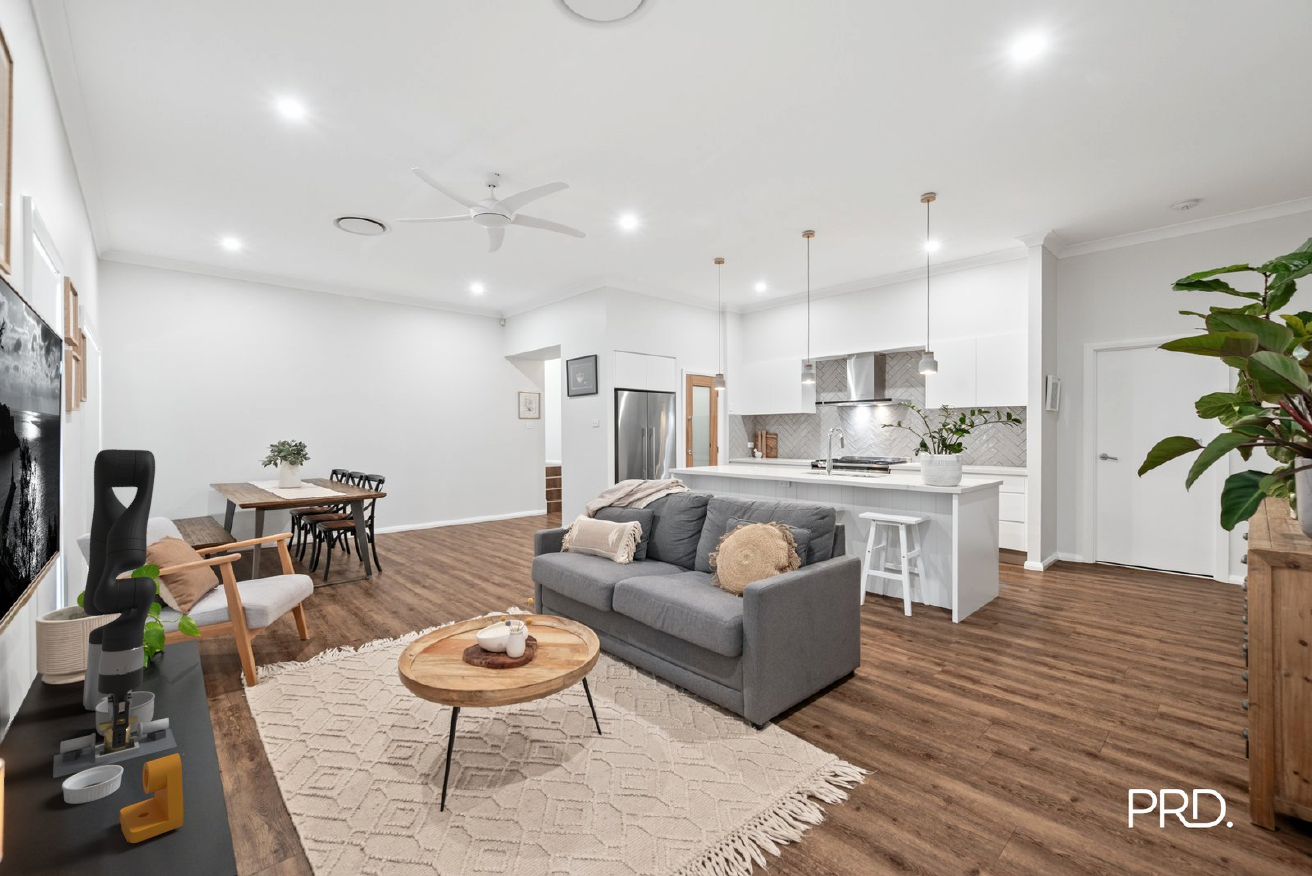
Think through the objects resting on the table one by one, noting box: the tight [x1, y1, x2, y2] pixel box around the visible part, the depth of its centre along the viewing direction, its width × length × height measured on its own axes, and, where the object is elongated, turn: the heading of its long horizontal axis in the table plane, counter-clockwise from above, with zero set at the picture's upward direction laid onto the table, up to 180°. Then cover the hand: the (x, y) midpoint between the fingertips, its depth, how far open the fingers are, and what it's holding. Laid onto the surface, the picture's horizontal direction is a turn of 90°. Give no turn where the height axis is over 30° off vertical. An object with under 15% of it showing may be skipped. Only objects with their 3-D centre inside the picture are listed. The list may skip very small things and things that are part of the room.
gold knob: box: [99, 715, 138, 755], centre depth 134 cm, size 6×4×7 cm
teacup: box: [94, 690, 156, 737], centre depth 145 cm, size 14×11×8 cm
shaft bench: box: [52, 717, 178, 779], centre depth 133 cm, size 20×12×6 cm, turn 135°
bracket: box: [119, 752, 185, 844], centre depth 110 cm, size 11×7×12 cm, turn 51°
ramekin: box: [61, 764, 124, 805], centre depth 118 cm, size 9×9×4 cm
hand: (117, 739), depth 133 cm, fingers open, 8 cm apart
